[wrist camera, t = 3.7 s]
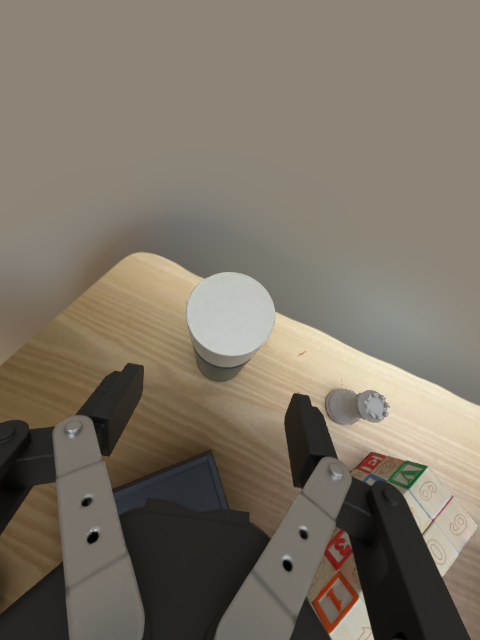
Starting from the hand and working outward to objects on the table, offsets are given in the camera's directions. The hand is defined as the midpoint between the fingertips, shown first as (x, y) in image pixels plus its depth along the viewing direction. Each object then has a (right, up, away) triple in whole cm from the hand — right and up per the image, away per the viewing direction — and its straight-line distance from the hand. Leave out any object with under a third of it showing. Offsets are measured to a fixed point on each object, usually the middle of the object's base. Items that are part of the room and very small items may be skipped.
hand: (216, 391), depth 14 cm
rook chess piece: (+14, -8, +20) cm, 26 cm away
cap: (0, +3, +8) cm, 9 cm away
